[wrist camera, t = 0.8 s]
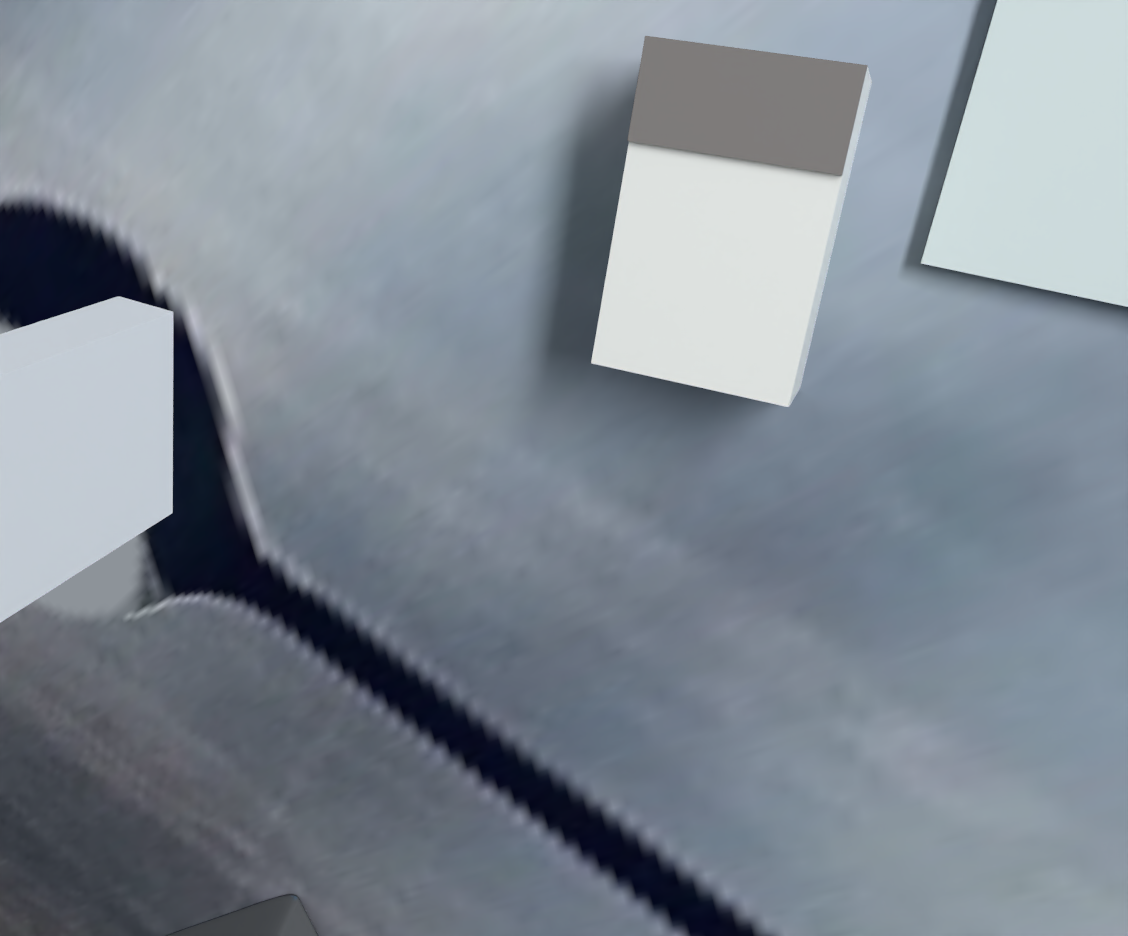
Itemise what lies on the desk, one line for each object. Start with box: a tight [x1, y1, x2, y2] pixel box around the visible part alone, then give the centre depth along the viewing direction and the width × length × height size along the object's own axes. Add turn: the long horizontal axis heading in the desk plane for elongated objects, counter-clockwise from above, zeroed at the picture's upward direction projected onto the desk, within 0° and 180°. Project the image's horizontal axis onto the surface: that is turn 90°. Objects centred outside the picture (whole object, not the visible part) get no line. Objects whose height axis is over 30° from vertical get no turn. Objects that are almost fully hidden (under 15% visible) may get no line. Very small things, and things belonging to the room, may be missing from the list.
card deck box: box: [591, 36, 872, 407], centre depth 33 cm, size 10×6×4 cm, turn 170°
